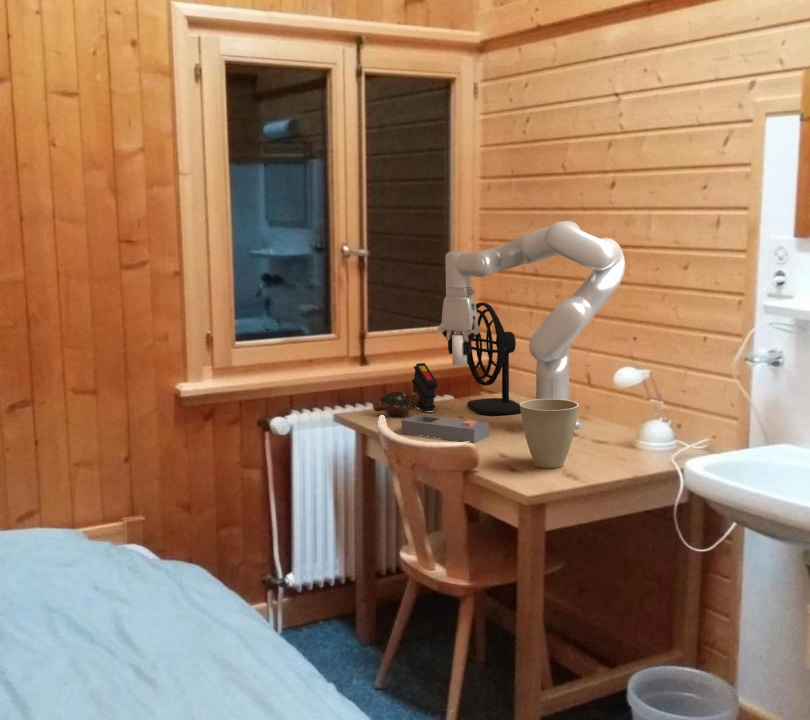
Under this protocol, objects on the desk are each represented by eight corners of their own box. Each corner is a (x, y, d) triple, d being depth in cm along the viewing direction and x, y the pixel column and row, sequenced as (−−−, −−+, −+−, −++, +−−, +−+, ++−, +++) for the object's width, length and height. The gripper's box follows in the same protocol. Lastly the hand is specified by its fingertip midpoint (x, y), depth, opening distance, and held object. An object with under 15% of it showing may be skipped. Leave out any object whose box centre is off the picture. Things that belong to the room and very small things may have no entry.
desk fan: (452, 403, 328) (451, 299, 322) (500, 399, 333) (500, 296, 327) (482, 420, 302) (481, 307, 296) (534, 415, 307) (534, 305, 302)
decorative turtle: (420, 419, 306) (418, 394, 304) (372, 422, 307) (370, 397, 305) (421, 410, 315) (419, 386, 314) (375, 414, 317) (372, 390, 315)
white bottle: (469, 363, 294) (469, 327, 293) (462, 366, 291) (462, 329, 289) (456, 362, 297) (456, 326, 295) (449, 365, 293) (449, 328, 291)
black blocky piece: (418, 399, 327) (425, 362, 319) (432, 423, 318) (440, 385, 309) (407, 400, 326) (414, 363, 318) (422, 424, 316) (429, 386, 308)
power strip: (488, 436, 283) (488, 420, 282) (474, 443, 275) (474, 426, 274) (417, 427, 295) (417, 411, 294) (401, 433, 287) (401, 417, 287)
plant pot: (589, 463, 253) (590, 403, 250) (556, 476, 242) (556, 413, 239) (541, 453, 263) (541, 395, 260) (508, 465, 252) (507, 405, 249)
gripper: (489, 292, 289) (490, 353, 292) (440, 291, 298) (441, 350, 301) (478, 295, 283) (478, 357, 286) (427, 293, 291) (429, 354, 294)
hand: (459, 353), depth 293 cm, fingers closed on white bottle, 4 cm apart
